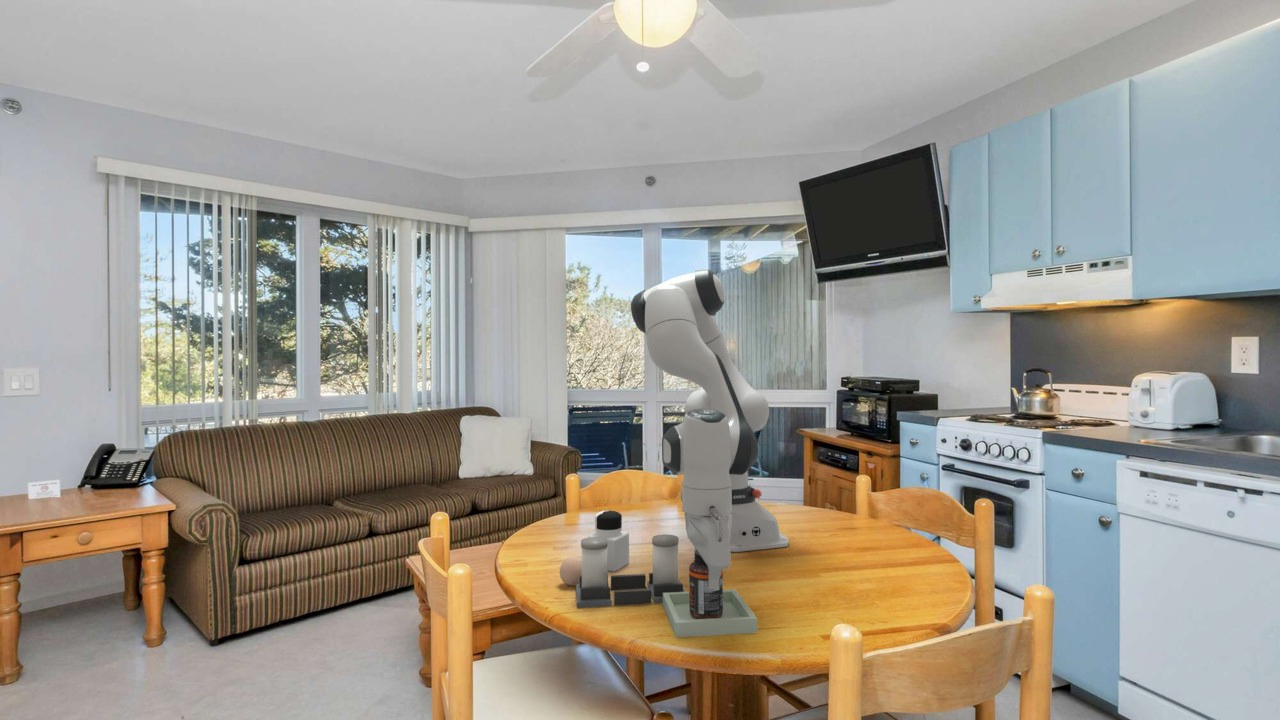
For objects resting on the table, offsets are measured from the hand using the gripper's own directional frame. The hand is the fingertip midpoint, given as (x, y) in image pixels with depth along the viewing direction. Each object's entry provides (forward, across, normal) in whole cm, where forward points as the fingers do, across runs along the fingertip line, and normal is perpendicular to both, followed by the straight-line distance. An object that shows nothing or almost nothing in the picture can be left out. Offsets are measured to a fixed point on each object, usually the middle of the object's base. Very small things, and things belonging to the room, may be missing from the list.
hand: (707, 578), depth 114 cm
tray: (+7, 0, 0) cm, 7 cm away
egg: (+7, +20, +24) cm, 32 cm away
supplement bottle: (+7, 0, 0) cm, 7 cm away
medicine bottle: (+7, +32, +16) cm, 36 cm away
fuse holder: (+7, +13, +12) cm, 19 cm away
